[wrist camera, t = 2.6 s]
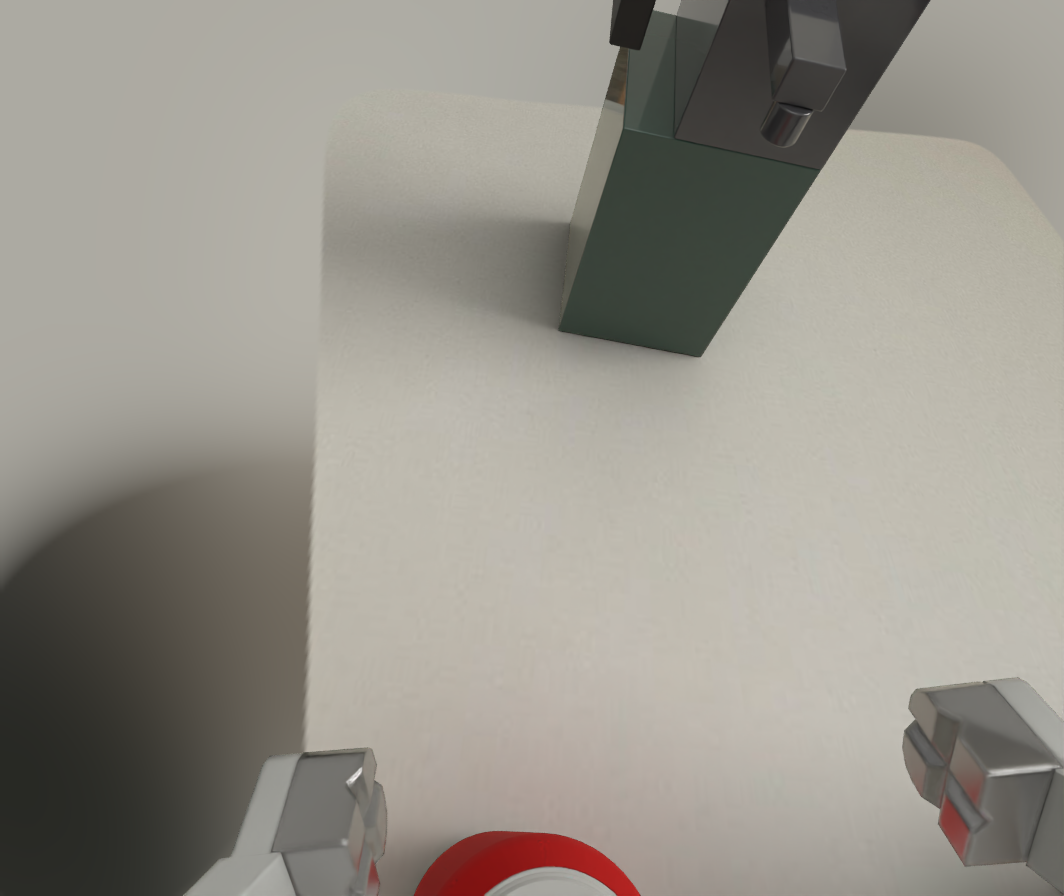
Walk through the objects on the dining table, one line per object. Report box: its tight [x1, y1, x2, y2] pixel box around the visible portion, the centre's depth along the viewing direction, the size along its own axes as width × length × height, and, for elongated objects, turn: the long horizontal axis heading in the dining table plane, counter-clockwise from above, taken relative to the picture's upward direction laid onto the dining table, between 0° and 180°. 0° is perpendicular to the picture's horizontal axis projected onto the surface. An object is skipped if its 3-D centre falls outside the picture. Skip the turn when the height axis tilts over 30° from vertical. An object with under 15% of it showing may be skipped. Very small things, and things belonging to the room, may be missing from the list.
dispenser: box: [558, 0, 930, 357], centre depth 31 cm, size 8×13×21 cm, turn 174°
